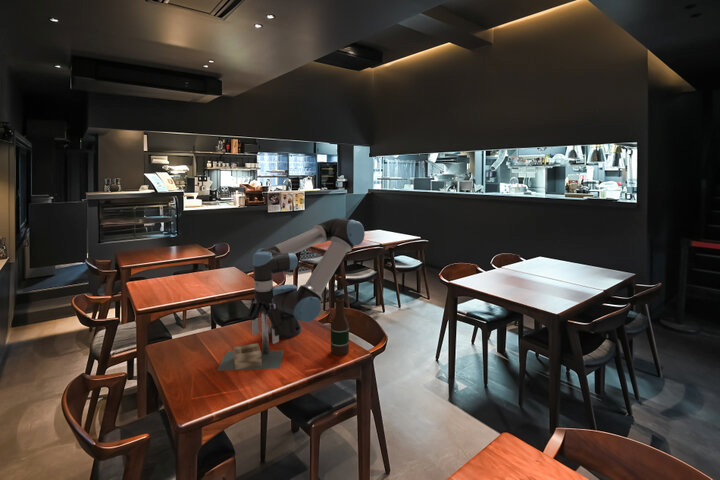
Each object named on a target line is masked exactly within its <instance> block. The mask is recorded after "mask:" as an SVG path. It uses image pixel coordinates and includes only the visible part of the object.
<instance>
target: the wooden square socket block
mask: <svg viewBox="0 0 720 480" xmlns="http://www.w3.org/2000/svg"><path fill="white" fill-rule="evenodd" d="M232 348H233V349H232V352H233V353H234V363H235V370H234V371H237V370H236V369H242V368H248V367H254V366H260V365H262V359H261V351H262V350H261V348H260V345H259V343H250V344H244V345H237V346H233V347H232Z"/></svg>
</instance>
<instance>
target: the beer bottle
mask: <svg viewBox="0 0 720 480" xmlns="http://www.w3.org/2000/svg"><path fill="white" fill-rule="evenodd" d="M334 313H335V315H334V317H333V319H332V320H331V322H330V352H331V353H332V355H333V356H337V355H338V357H342V356H347V354H349V352H350V351H349V350H350V323H349V322H348V319H347V318H346V315H345V299H344V298H343V297H337V298H335V312H334ZM341 355H342V356H341Z"/></svg>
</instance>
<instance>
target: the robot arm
mask: <svg viewBox="0 0 720 480" xmlns="http://www.w3.org/2000/svg"><path fill="white" fill-rule="evenodd" d="M365 234H366V233H365V228H364V225H363V224H362V223H361V222H360V221H357V220H354V219H345V218H344V219H343V218H337V217H335V218H331V219H328V220H324V221H323V222H320V223H318V224H316V225H315V224H314V226H313V228H312V229H309V230H307V231H305V232H303V233H301V234H297V235H295V236H293V237H291V238H289V239H287V240H284V241H282V242H280V243H278V244H275V245H273V246H271V247H268V248H265V247H264V248H259V249H257V250H256V252H254V254H253V256H252V266H253V267H252V268H253V269H252V270H253V290H254V291H253V293H254V294H253V295H254V297H252V298H251V302H250V303H251V304H250V307H249V310H248V313H247V317H248V318H250V320H251V329H252V330H251V331H252V332H251V334H252V336H255V335H258V334H259V319H258V316H259V314H261V313H262V312H265V314H267V315H268V321H270V325H269V327H268V335H269V336H271V337H272V339H271V340H272V344H273V345H274V344H277V343H279V342H280V339H291V338H294V337H297V336H299V335H300V334H301V333H302V325H301V322H304V323H305V322H306V323H309V322H312V321H314V320H315V319H316V318H317V317H319V315H320V314H321V311H322V303H321V301H322V299H323V297H322V293H323V292H324V290H325V288H326V287H327V286H328V284H329V282H330V280H331V279H332V277H333V275H334V274H335V272H336V270H337V269H338V267H339V266H340V264H341V262H342V261H343V259H344V257H346V254H347V253H348V252H352V250H353V249H354V247H355V246H360V245H361V244H362V243H363V242H364V239H365ZM326 242H331V243H330V244H329V247H328V248H327V249H326V251H325V253H324V254H323V256H322V257H321V259H320V260H319V262H318V264H317V265H316V267H315V268H314V270H313V272H312V273H311V274H310V276H309V278H308V279H307V281H306V283H305V284H301V285H300V286H299V287H297V285H295V284H282V285H278V286H277V285H276V286H275V287H274V284H273V283H274V281H273V279H274V278H273V274H279V273H284V272H289V271H292V270H296V268H297V267H298V264H299V263H298V260H299V259H298V257H297V255H296V254H297V253H300V252H302V251H305V250H307V249H309V248H311V247H313V246H316V245H317V244H319V243H320V244H324V243H326Z"/></svg>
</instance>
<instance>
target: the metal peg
mask: <svg viewBox="0 0 720 480" xmlns="http://www.w3.org/2000/svg"><path fill="white" fill-rule="evenodd" d="M260 314H261V315H260V316H261V340H262V341H261V342H262V344H261V347H262V351H263V354H264V355H267V354H269V351H270V342H269V317H268V315H267V314H265V312H263V311H261V312H260Z"/></svg>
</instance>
